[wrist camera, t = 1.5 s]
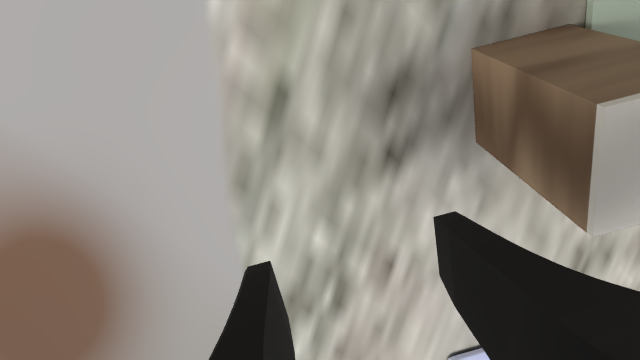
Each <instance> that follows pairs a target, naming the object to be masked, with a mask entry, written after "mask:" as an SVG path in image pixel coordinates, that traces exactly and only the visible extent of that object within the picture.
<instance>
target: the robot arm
mask: <svg viewBox="0 0 640 360" xmlns="http://www.w3.org/2000/svg"><path fill="white" fill-rule="evenodd" d="M434 226H435V236H436V245H437V255H438V264H439V274H440V277H441V279H442V281H443V283H444V286H445V288H446V290H447V292H448V294H449V296H450V298H451V300H452V302H453V304H454V306H455V307H456V309H457V311H458V312H459V314H460V315H461V317H462V318H463V320H464V321H465V323H466V324H467V326H468V327H469V329H470V330H471V332H472V333H473V335H474V336H475V338H476V339H477V341H478V342H479V344H480V345H481V347H482V348H480V349H476V350H473V351H469V352H466V353H462V354H459V355H455V356H452V357H450V358H449V359H448V360H640V292H639V291H636V290H632V289H629V288H626V287H622V286H619V285H615V284H612V283H609V282H606V281H603V280H600V279H597V278H594V277H591V276H588V275H586V274H583V273H580V272H577V271H575V270H572V269H569V268H567V267H564V266H562V265H559V264H557V263H555V262H552V261H550V260H548V259H546V258H543V257H541V256H539V255H537V254H535V253H532V252H530V251H528V250H526V249H524V248H522V247H520V246H518V245H516V244H514V243H512V242H510V241H508V240H506V239H504V238H502V237H501V236H499V235H497V234H495V233H493V232H491V231H490V230H488V229H486V228H484V227H482V226H481V225H479V224H477V223H475V222H474V221H472V220H470V219H468V218H466V217H465V216H463V215H461V214H459V213H457V212H451V213H447V214H443V215H440V216H436V217H434ZM209 360H295V352H294V346H293V340H292V335H291V329H290V324H289V319H288V315H287V312H286V309H285V306H284V302H283V299H282V296H281V293H280V290H279V287H278V284H277V281H276V277H275V274H274V271H273V268H272V265H271V262H270V261H268V262H264V263H260V264H257V265H253V266H249V267H247V269H246V270H245V273H244V276H243V280H242V283H241V286H240V289H239V292H238V295H237V298H236V300H235V303H234V306H233V308H232V310H231V313H230V315H229V318H228V320H227V323H226V325H225V327H224V330H223V332H222V334H221V336H220V338H219V340H218V342H217V344H216V346H215V348H214V350H213V352H212V354H211V356H210V358H209Z"/></svg>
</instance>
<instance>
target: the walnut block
mask: <svg viewBox="0 0 640 360" xmlns="http://www.w3.org/2000/svg"><path fill="white" fill-rule="evenodd" d="M471 51H472V71H473V91H474V111H475V131H476V142H477V143H478V144H479V145H480V146H482V147H483V148H484V149H485V150H486V151H488V152H489V153H490V154H491V155H493V156H494V157H495V158H496V159H497V160H499V161H500V162H501V163H502V164H504V165H505V166H506V167H507V168H508V169H510V170H511V171H512V172H513V173H515V174H516V175H517V176H518V177H519V178H521V179H522V180H523V181H524V182H525V183H527V184H528V185H529V186H530V187H532V188H533V189H534V190H535V191H536V192H538V193H539V194H540V195H541V196H543V197H544V198H545V199H546V200H547V201H549V202H550V203H551V204H552V205H554V206H555V207H556V208H557V209H558V210H560V211H561V212H562V213H563V214H565V215H566V216H567V217H568V218H569V219H571V220H572V221H573V222H574V223H575V224H577V225H578V226H579V227H580V228H582V229H583V230H584V231H585V232H586V233H588V234H589V235H590V236H591V237H597V236H600V235H604V234H608V233H611V232H615V231H618V230H622V229H626V228H629V227H633V226H637V225H640V41H637V40H632V39H628V38H624V37H620V36H616V35H612V34H607V33H603V32H599V31H595V30H591V29H587V28H582V27H578V26H574V25H570V24H568V25H564V26H560V27H556V28H552V29H548V30H544V31H540V32H536V33H532V34H528V35H524V36H520V37H516V38H512V39H508V40H504V41H500V42H496V43H492V44H488V45H484V46H480V47H476V48H472V49H471Z"/></svg>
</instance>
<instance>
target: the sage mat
mask: <svg viewBox="0 0 640 360" xmlns="http://www.w3.org/2000/svg"><path fill="white" fill-rule="evenodd" d="M585 28H587V29H591V30H595V31H599V32H603V33H607V34H612V35H616V36H620V37H624V38H628V39H632V40H637V41H640V0H587V10H586V25H585Z"/></svg>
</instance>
